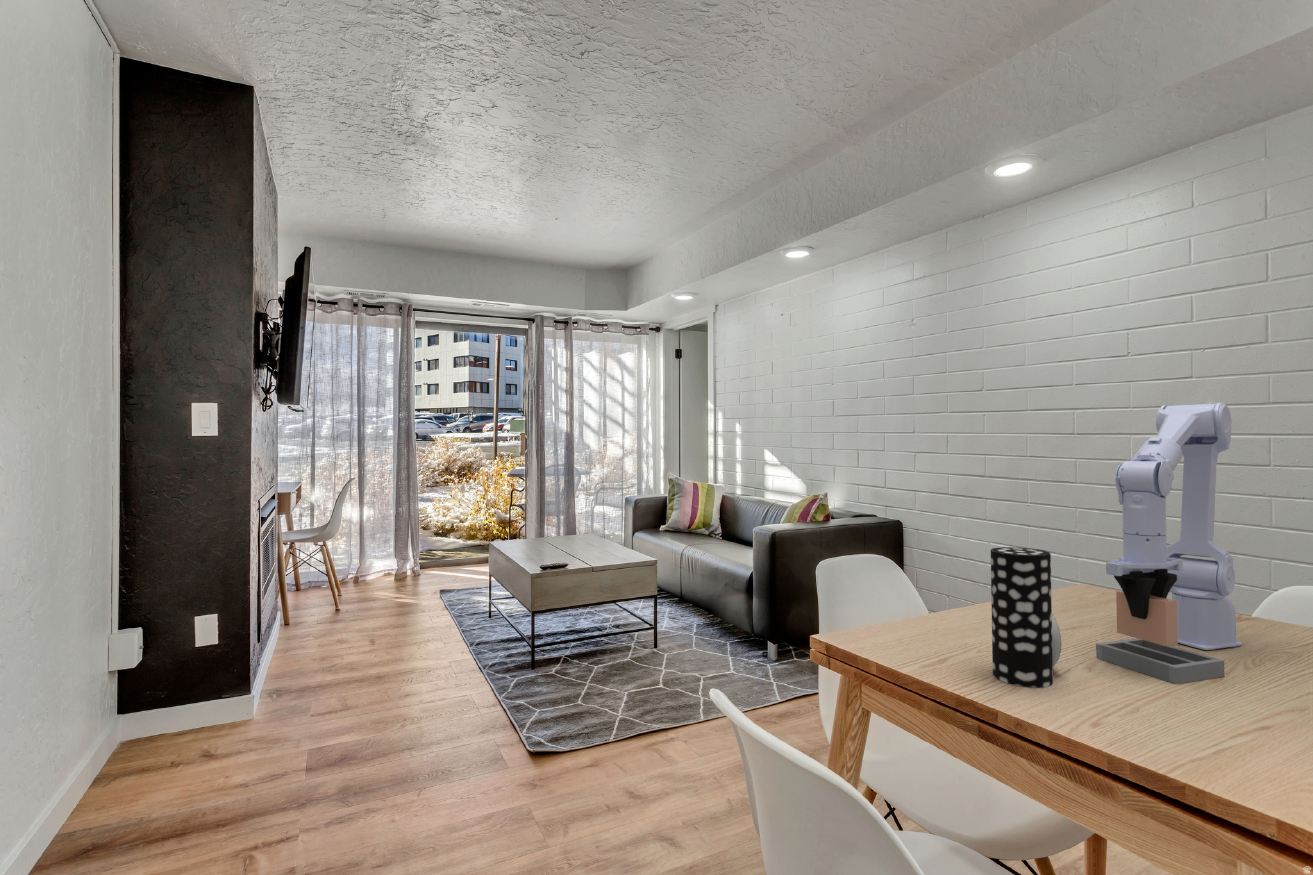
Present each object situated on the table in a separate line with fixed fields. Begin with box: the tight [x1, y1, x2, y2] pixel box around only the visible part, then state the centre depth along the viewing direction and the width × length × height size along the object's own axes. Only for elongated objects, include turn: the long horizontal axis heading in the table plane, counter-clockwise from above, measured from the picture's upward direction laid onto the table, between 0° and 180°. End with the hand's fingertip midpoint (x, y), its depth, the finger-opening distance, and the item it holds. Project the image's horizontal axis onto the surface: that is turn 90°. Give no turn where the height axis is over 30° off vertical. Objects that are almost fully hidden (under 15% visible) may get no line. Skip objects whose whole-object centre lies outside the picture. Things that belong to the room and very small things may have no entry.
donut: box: [1052, 613, 1062, 667], centre depth 108 cm, size 10×4×10 cm, turn 170°
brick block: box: [1115, 590, 1179, 647], centre depth 107 cm, size 2×8×7 cm, turn 17°
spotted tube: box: [990, 546, 1054, 689], centre depth 103 cm, size 8×8×20 cm
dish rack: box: [1095, 637, 1225, 685], centre depth 107 cm, size 11×13×2 cm
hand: (1145, 616), depth 107 cm, fingers closed on brick block, 2 cm apart
